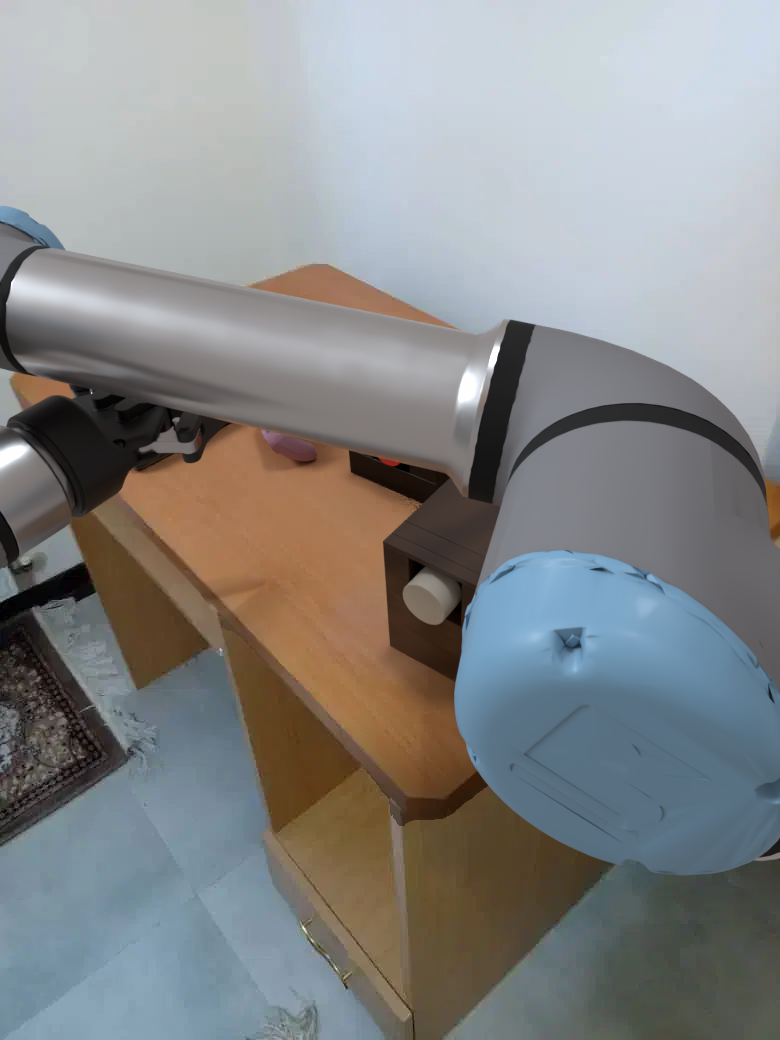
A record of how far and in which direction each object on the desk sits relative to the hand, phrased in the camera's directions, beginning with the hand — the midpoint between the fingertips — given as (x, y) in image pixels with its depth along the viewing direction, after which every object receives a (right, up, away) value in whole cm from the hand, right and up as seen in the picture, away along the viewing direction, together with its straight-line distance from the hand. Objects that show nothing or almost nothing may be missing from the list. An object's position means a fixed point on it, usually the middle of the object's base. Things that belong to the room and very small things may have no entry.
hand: (288, 322), depth 64 cm
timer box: (+15, -26, +8) cm, 32 cm away
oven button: (+9, -9, +22) cm, 26 cm away
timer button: (+12, -23, 0) cm, 26 cm away
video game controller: (-4, -7, +32) cm, 33 cm away
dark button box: (+12, -10, +27) cm, 31 cm away
